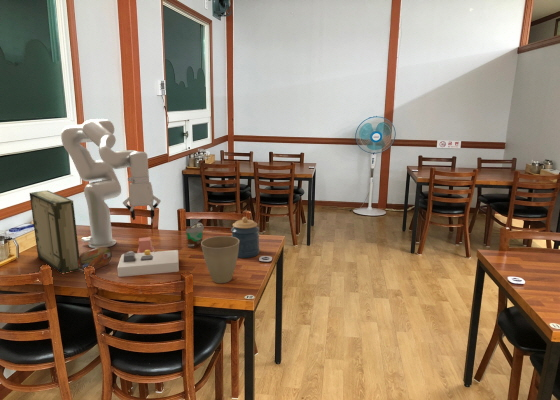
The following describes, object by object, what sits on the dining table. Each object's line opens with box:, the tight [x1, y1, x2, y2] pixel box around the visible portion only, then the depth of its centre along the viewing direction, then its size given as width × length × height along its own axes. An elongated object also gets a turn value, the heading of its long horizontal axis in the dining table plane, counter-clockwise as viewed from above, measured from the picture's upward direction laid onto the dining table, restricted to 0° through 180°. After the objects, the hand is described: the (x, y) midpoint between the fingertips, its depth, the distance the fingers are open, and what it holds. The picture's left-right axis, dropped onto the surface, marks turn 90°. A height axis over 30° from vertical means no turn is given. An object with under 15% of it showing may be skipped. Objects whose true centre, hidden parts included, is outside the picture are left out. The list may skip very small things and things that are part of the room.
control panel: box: [29, 190, 82, 274], centre depth 190 cm, size 30×8×30 cm, turn 45°
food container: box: [185, 221, 205, 249], centre depth 216 cm, size 12×6×10 cm, turn 168°
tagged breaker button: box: [142, 255, 152, 261], centre depth 188 cm, size 4×4×4 cm
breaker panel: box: [117, 249, 180, 278], centre depth 188 cm, size 24×16×6 cm, turn 103°
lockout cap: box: [136, 236, 155, 253], centre depth 201 cm, size 7×7×8 cm
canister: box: [230, 216, 261, 259], centre depth 202 cm, size 13×13×18 cm
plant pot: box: [200, 235, 239, 284], centre depth 173 cm, size 15×15×16 cm
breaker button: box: [123, 251, 136, 262], centre depth 186 cm, size 4×4×4 cm
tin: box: [78, 247, 113, 271], centre depth 187 cm, size 15×3×8 cm, turn 148°
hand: (143, 218), depth 198 cm, fingers open, 7 cm apart
